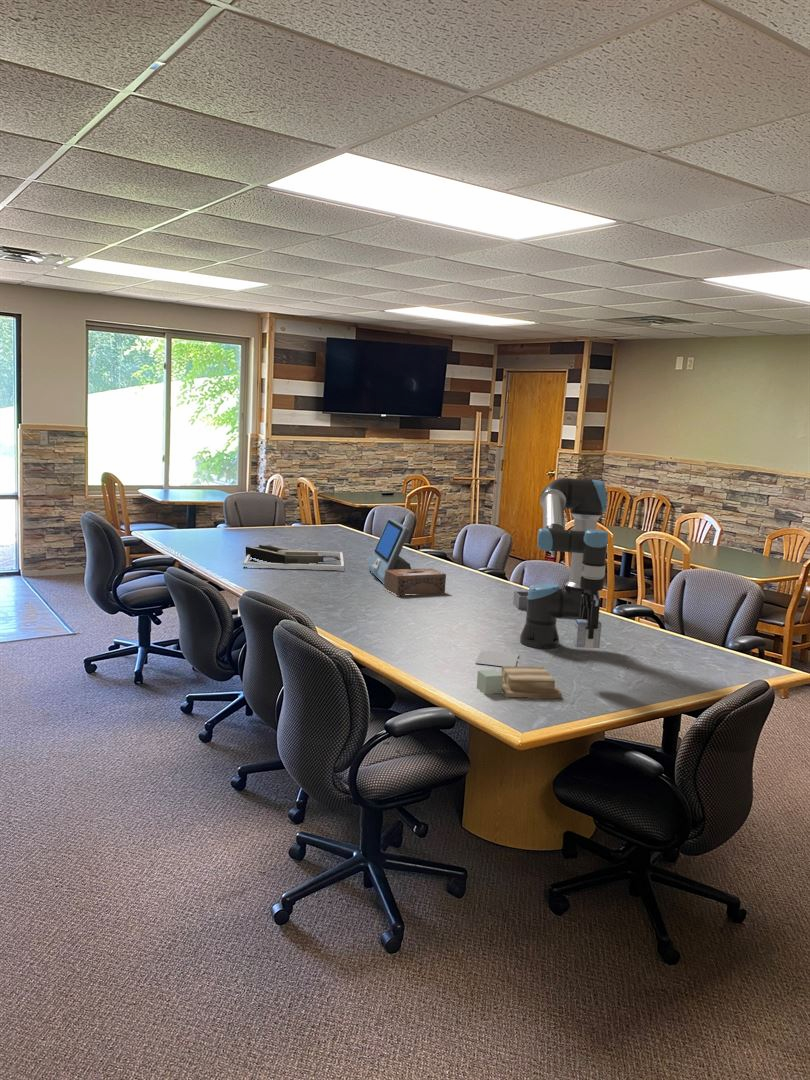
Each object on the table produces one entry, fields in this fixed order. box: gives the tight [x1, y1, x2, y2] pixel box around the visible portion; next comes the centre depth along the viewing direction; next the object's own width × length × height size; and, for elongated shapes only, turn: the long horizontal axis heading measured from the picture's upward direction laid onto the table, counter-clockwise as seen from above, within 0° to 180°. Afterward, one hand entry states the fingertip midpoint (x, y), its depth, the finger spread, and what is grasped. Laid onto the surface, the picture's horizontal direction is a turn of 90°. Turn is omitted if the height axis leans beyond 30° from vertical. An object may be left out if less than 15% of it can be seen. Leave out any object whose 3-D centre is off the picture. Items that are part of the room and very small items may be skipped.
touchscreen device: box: [368, 517, 412, 585], centre depth 426 cm, size 35×20×30 cm, turn 15°
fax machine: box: [245, 544, 341, 564], centre depth 457 cm, size 45×34×10 cm
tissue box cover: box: [384, 567, 447, 595], centre depth 399 cm, size 26×14×10 cm, turn 115°
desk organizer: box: [512, 590, 529, 611], centre depth 380 cm, size 11×21×6 cm, turn 95°
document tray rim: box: [243, 550, 345, 570], centre depth 457 cm, size 42×53×3 cm
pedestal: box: [501, 666, 563, 699], centre depth 266 cm, size 18×18×5 cm
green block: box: [476, 669, 503, 695], centre depth 262 cm, size 6×6×6 cm
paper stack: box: [475, 649, 520, 667], centre depth 291 cm, size 23×25×1 cm
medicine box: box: [572, 619, 602, 649], centre depth 273 cm, size 8×4×9 cm, turn 92°
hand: (586, 645), depth 274 cm, fingers closed on medicine box, 5 cm apart
